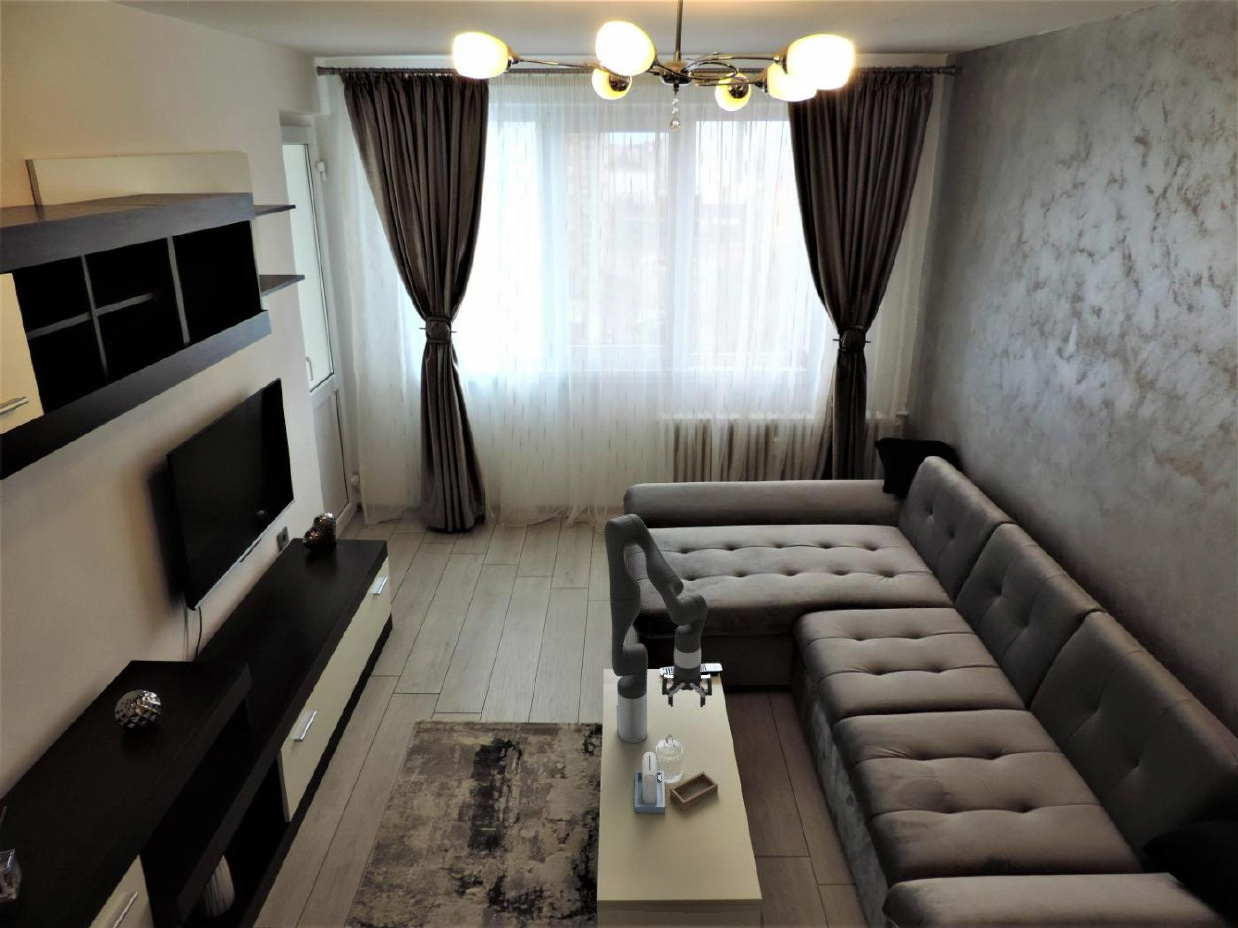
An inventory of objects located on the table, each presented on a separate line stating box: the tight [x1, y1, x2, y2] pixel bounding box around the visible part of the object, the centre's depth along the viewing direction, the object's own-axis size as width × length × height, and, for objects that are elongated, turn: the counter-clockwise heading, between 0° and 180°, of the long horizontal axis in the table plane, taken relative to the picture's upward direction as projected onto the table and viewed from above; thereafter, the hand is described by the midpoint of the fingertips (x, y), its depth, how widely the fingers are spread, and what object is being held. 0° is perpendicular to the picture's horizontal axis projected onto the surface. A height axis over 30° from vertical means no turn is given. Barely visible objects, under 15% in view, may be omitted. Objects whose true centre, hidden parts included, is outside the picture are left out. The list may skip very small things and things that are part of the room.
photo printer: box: [641, 751, 658, 805], centre depth 251 cm, size 10×4×12 cm, turn 179°
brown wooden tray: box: [669, 770, 719, 812], centre depth 253 cm, size 7×12×3 cm, turn 124°
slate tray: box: [634, 770, 666, 815], centre depth 253 cm, size 14×9×2 cm, turn 179°
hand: (686, 705), depth 250 cm, fingers open, 8 cm apart
